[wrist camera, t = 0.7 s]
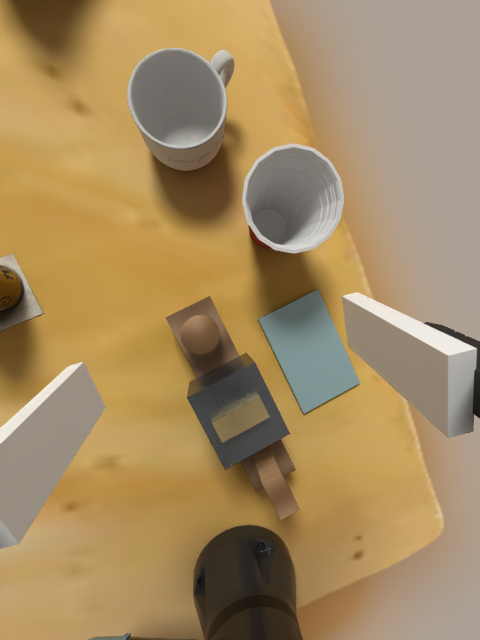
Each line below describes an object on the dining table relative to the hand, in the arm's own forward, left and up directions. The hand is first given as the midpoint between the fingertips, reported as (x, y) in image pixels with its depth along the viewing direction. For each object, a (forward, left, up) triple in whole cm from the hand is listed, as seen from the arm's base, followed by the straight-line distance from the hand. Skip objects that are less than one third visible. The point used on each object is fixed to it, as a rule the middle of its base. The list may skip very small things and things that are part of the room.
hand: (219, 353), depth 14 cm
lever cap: (-10, +1, -21) cm, 23 cm away
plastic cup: (+8, -14, -26) cm, 31 cm away
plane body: (-10, +1, -26) cm, 28 cm away
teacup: (+24, -10, -26) cm, 37 cm away
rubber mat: (-11, -12, -26) cm, 31 cm away
